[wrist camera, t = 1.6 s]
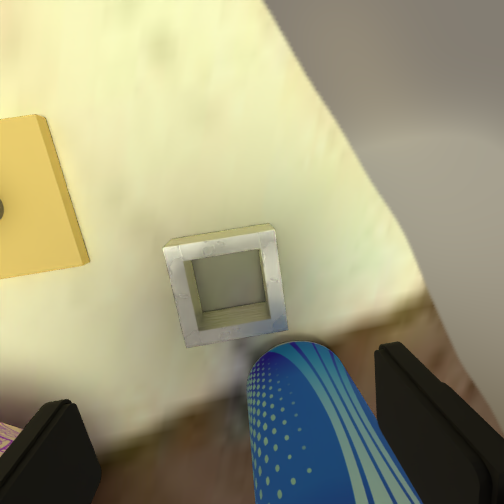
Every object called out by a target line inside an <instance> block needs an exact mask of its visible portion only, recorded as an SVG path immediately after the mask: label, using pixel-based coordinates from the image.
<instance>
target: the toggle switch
mask: <svg viewBox="0 0 504 504" xmlns="http://www.w3.org/2000/svg"><path fill="white" fill-rule="evenodd" d="M88 262H90V261H89V258H88V255H87V251H86V248H85V245H84V242H83V238H82V235H81V232H80V229H79V225H78V222H77V219H76V216H75V212H74V209H73V206H72V203H71V199H70V196H69V193H68V190H67V186H66V183H65V180H64V177H63V173H62V170H61V167H60V164H59V161H58V157H57V154H56V151H55V148H54V144H53V141H52V138H51V135H50V131H49V128H48V125H47V122H46V118H45V117H42V116H39V115H36V114H34V115H27V116H20V117H13V118H6V119H0V279H4V278H11V277H17V276H23V275H29V274H35V273H41V272H47V271H53V270H59V269H65V268H71V267H77V266H83V265H85V264H87V263H88Z"/></svg>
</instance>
